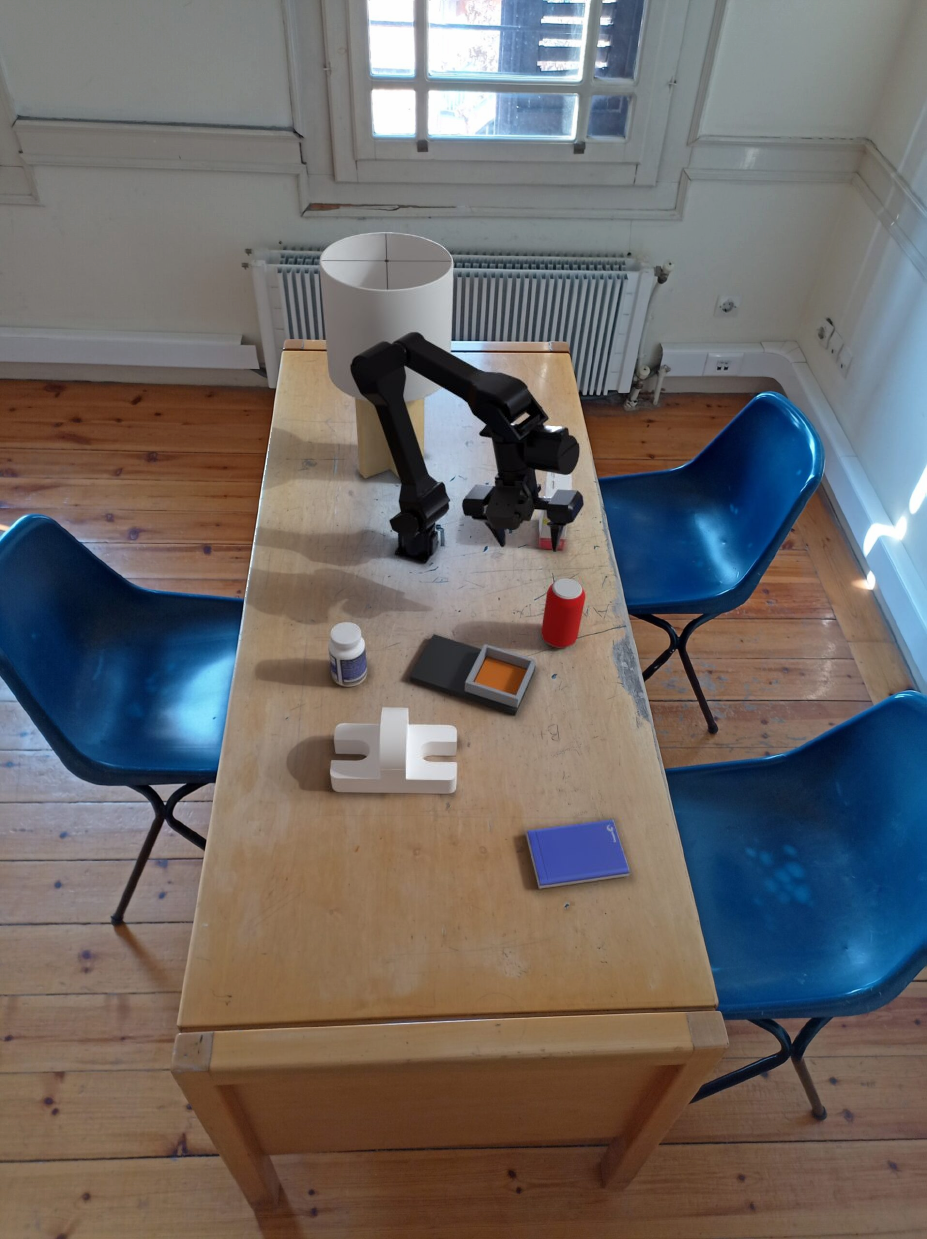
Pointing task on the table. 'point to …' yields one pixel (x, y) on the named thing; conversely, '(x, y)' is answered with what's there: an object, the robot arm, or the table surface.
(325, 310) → the lamp
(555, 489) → the ink box
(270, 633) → the table surface
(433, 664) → the black tray with frame
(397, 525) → the robot arm
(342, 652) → the pill bottle
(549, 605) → the beverage can
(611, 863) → the hard drive
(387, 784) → the white slotted fin bracket
